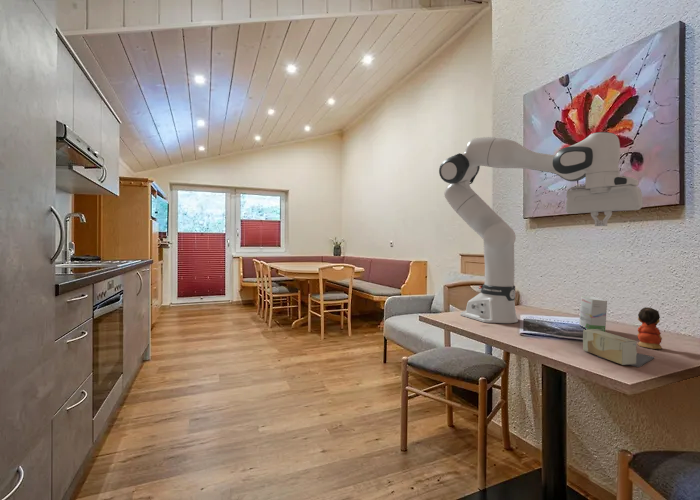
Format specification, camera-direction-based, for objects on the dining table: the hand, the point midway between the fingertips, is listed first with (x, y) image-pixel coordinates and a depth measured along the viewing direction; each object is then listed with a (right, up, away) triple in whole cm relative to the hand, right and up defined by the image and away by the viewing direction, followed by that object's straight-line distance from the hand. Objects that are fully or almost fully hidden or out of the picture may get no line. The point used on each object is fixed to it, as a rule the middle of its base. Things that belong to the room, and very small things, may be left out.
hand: (600, 226), depth 109 cm
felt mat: (-5, -38, -16) cm, 41 cm away
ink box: (+6, -37, +13) cm, 40 cm away
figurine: (+10, -38, -7) cm, 39 cm away
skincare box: (-12, -34, -11) cm, 38 cm away
